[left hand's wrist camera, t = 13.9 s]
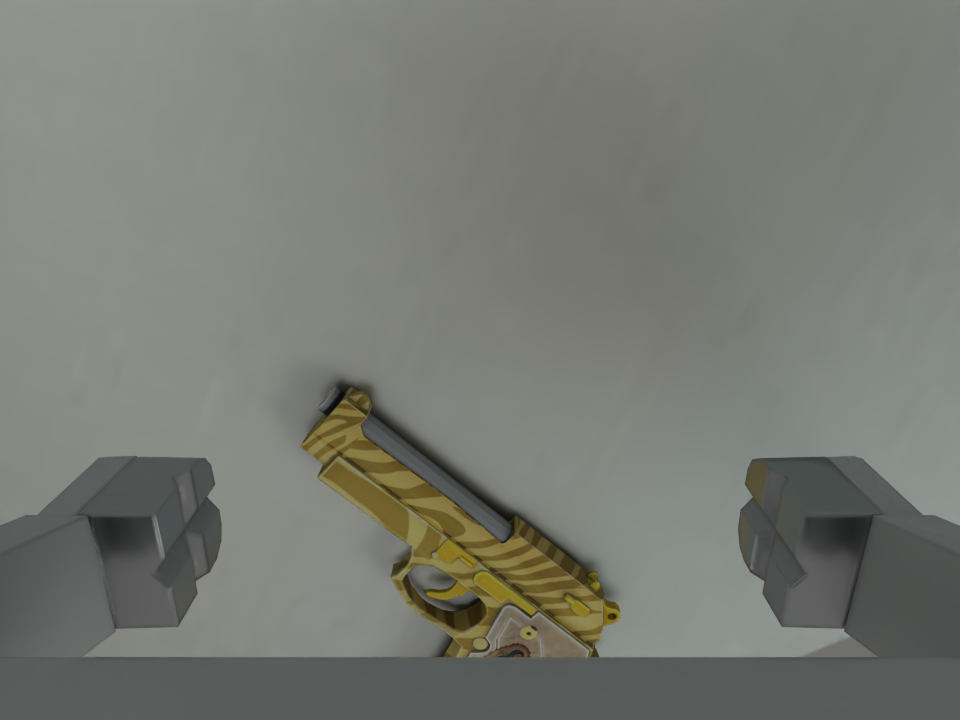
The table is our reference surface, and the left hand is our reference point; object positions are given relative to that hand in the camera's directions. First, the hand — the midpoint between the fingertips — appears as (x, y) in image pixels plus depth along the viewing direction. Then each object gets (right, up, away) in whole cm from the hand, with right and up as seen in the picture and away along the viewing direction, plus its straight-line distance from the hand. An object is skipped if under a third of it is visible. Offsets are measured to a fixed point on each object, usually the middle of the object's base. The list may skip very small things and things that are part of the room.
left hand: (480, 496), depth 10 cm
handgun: (-3, -11, +30) cm, 32 cm away
